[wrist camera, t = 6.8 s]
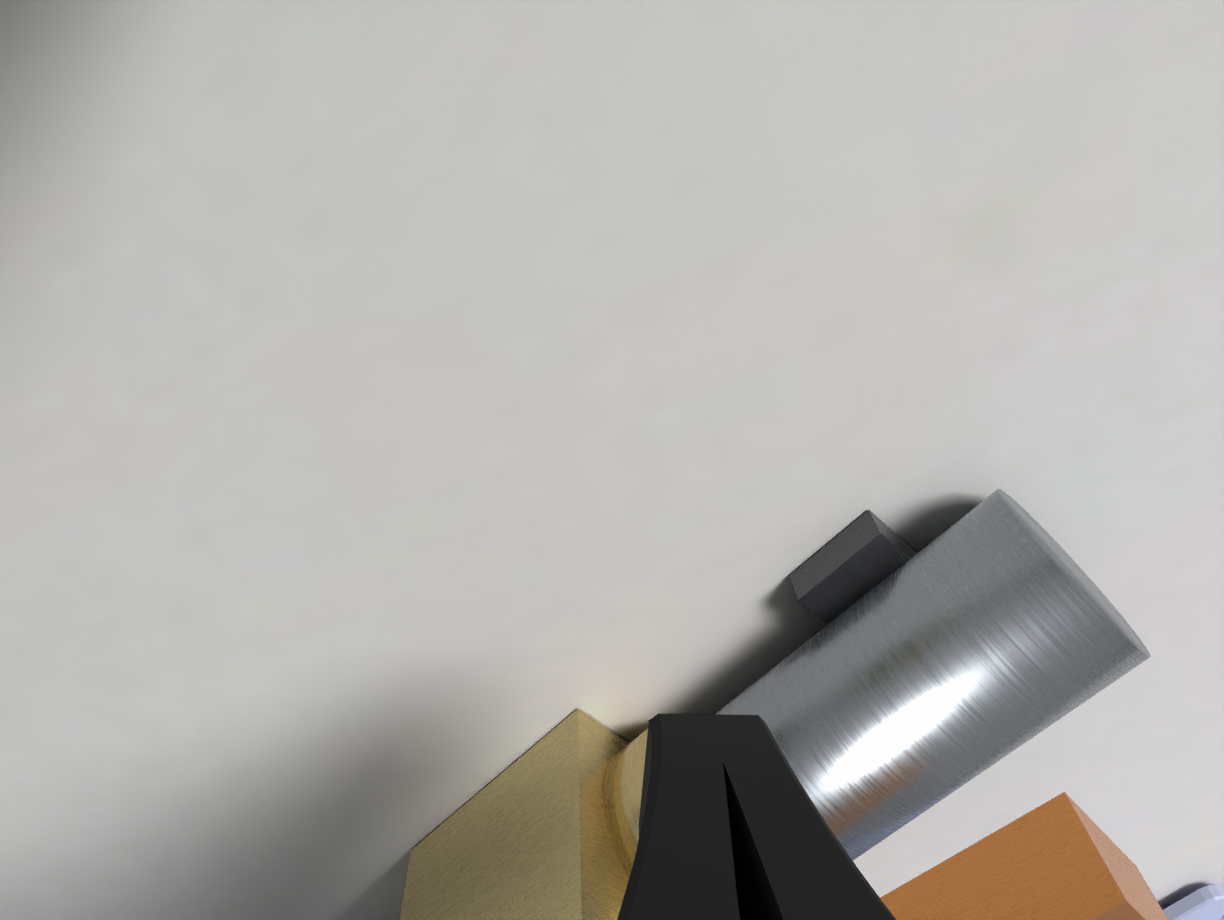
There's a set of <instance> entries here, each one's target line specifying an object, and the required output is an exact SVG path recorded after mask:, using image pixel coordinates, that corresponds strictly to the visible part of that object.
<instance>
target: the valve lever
mask: <svg viewBox="0 0 1224 920" xmlns="http://www.w3.org/2000/svg"><path fill="white" fill-rule="evenodd" d="M880 899H881V900H882V902H883V903H884V904H885V905H886V907H887V908H888V909H889V911H890V912H891V913H892V914H893V916H894V917H895V918H896V920H1168V918H1167V917H1166V915H1165V913H1164V912H1163V910H1162V908H1161V907H1160V905H1159V903H1158V902H1157V900H1156V898H1155V897H1154V895H1153V893H1152V892H1151V890H1150V888H1149V887H1148V885H1147V883H1146V882H1145V880H1144V878H1143V877H1142V875H1141V873H1140V872H1139V870H1138V868H1137V867H1136V865H1135V864H1134V863H1133V862H1132V861H1131V860H1130V859H1129V858H1128V857H1127V856H1126V855H1125V854H1124V853H1123V852H1122V851H1121V850H1120V849H1119V848H1118V847H1117V846H1116V845H1115V844H1114V843H1113V842H1112V841H1111V840H1110V839H1109V837H1108V836H1107V835H1106V834H1105V833H1104V832H1103V831H1102V830H1101V829H1100V828H1099V827H1098V826H1097V825H1096V824H1095V823H1094V822H1093V821H1092V820H1091V819H1090V818H1089V817H1088V816H1087V815H1086V814H1085V813H1084V812H1083V811H1082V810H1081V809H1080V808H1079V806H1078V805H1077V804H1076V803H1075V802H1074V801H1073V800H1072V799H1071V798H1070V797H1069V796H1068V795H1067V794H1066V793H1065V792H1064V793H1062V794H1060V795H1058V796H1057V797H1055V798H1053V799H1051V800H1050V801H1048V802H1046V803H1044V804H1043V805H1041V806H1039V807H1037V808H1036V809H1034V810H1032V811H1030V812H1029V813H1027V814H1025V815H1024V816H1022V817H1020V818H1018V819H1017V820H1015V821H1013V822H1011V823H1010V824H1008V825H1006V826H1004V827H1003V828H1001V829H999V830H997V831H996V832H994V833H992V834H990V835H989V836H987V837H985V838H983V839H982V840H980V841H978V842H977V843H975V844H973V845H971V846H970V847H968V848H966V849H964V850H963V851H961V852H959V853H957V854H956V855H954V856H952V857H950V858H949V859H947V860H945V861H943V862H942V863H940V864H938V865H937V866H935V867H933V868H931V869H930V870H928V871H926V872H924V873H923V874H921V875H919V876H917V877H916V878H914V879H912V880H910V881H909V882H907V883H905V884H903V885H902V886H900V887H898V888H896V889H895V890H893V891H891V892H890V893H888V894H886V895H884V896H883V897H881V898H880Z"/></svg>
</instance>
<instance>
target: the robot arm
mask: <svg viewBox="0 0 1224 920" xmlns="http://www.w3.org/2000/svg"><path fill="white" fill-rule="evenodd" d="M1163 912H1164V913H1165V915H1166V917H1167V918H1168V920H1224V886H1222V885H1208V886H1204V887H1202V888H1200V889H1198V890H1196V891H1194V892H1193V893H1191V894H1189V895H1187V896H1186V897H1184V898H1182V899H1181V900H1179V901H1177V902H1175V903H1174V904H1172V905H1170V906H1169V907H1167V908H1165V909H1164V910H1163ZM617 920H896V918H895V917H894V916H893V914H892V913H891V912H890V911H889V909H888V908H887V907H886V905H885V904H884V903H883V902H882V900H881V899H880V898H879V896H878V895H877V894H876V893H875V891H874V890H873V888H872V887H871V886H870V884H869V883H868V882H867V880H866V879H865V878H864V876H863V875H862V874H861V872H860V871H859V869H858V868H857V867H856V865H855V864H854V862H853V861H852V859H851V858H850V857H849V855H848V854H847V852H846V851H845V849H844V848H843V846H842V845H841V844H840V842H839V841H838V839H837V838H836V836H835V835H834V833H833V832H832V831H831V829H830V828H829V826H828V825H827V823H826V822H825V820H824V819H823V817H822V816H821V814H820V813H819V811H818V810H817V808H816V807H815V805H814V803H813V802H812V800H811V799H810V797H809V796H808V794H807V792H806V791H805V789H804V788H803V786H802V784H801V783H800V781H799V780H798V778H797V776H796V775H795V773H794V771H793V770H792V768H791V766H790V765H789V763H788V761H787V760H786V758H785V756H784V755H783V753H782V751H781V749H780V748H779V746H778V744H777V742H776V741H775V739H774V737H773V735H772V733H771V732H770V730H769V728H768V726H767V724H766V722H765V721H764V720H763V719H762V718H761V717H760V716H759V715H724V714H658V715H656V716H655V717H653V718H652V719H650V720H649V724H648V734H647V744H646V754H645V765H644V775H643V785H642V795H641V805H640V816H639V840H638V845H637V850H636V854H635V859H634V862H633V866H632V870H631V873H630V877H629V880H628V884H627V887H626V891H625V894H624V898H623V901H622V905H621V908H620V912H619V915H618V919H617Z"/></svg>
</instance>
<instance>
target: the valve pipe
mask: <svg viewBox="0 0 1224 920" xmlns="http://www.w3.org/2000/svg"><path fill="white" fill-rule="evenodd" d="M789 576H790V579H791V582H792V585H793V588H794V591H795V594H796V597H797V600H798V601H799V602H800V603H802V604H803V605H804V606H805V607H807V608H808V609H809V610H810V611H812V612H813V613H814V614H815V615H816V616H818V617H819V618H820V619H821V620H823V621H824V622H825V623H826V624H828V625H826V626H825V627H824V628H823V629H821V630H820V631H819V632H817V633H816V634H815V635H814V636H812V637H811V638H810V639H809V640H807V641H806V642H805V643H804V644H802V645H801V646H800V647H799V648H797V649H796V650H795V651H794V652H792V653H791V654H790V655H789V656H787V657H786V658H785V659H783V660H782V661H781V662H780V663H778V664H777V665H776V666H775V667H773V668H772V669H771V670H770V671H768V672H767V673H766V674H765V675H763V676H762V677H761V678H760V679H758V680H757V681H756V682H754V683H753V684H752V685H751V686H749V687H748V688H747V689H746V690H744V691H743V692H742V693H741V694H739V695H738V696H737V697H736V698H734V699H733V700H732V701H731V702H729V703H728V704H727V705H726V706H724V707H723V708H722V709H720V710H719V711H718V712H717V713H715V714H724V715H759V716H760V717H761V718H762V719H763V720H764V721H765V722H766V724H767V726H768V728H769V730H770V732H771V733H772V735H773V737H774V739H775V741H776V742H777V744H778V746H779V748H780V749H781V751H782V753H783V755H784V756H785V758H786V760H787V761H788V763H789V765H790V766H791V768H792V770H793V771H794V773H795V775H796V776H797V778H798V780H799V781H800V783H801V784H802V786H803V788H804V789H805V791H806V792H807V794H808V796H809V797H810V799H811V800H812V802H813V803H814V805H815V807H816V808H817V810H818V811H819V813H820V814H821V816H822V817H823V819H824V820H825V822H826V823H827V825H828V826H829V828H830V829H831V831H832V832H833V833H834V835H835V836H836V838H837V839H838V841H839V842H840V844H841V845H842V846H843V848H844V849H845V851H846V852H847V854H848V855H849V857H850V858H851V859H852V861H853V860H854V859H856V858H857V857H859V856H860V855H862V854H863V853H865V852H866V851H867V850H869V849H870V848H872V847H873V846H875V845H876V844H878V843H879V842H881V841H882V840H884V839H885V838H886V837H888V836H889V835H891V834H892V833H894V832H895V831H897V830H898V829H900V828H901V827H903V826H904V825H905V824H907V823H908V822H910V821H911V820H913V819H914V818H916V817H917V816H919V815H920V814H922V813H923V812H924V811H926V810H927V809H929V808H930V807H932V806H933V805H935V804H936V803H938V802H939V801H940V800H942V799H943V798H945V797H946V796H948V795H949V794H951V793H952V792H954V791H955V790H957V789H958V788H959V787H961V786H962V785H964V784H965V783H967V782H968V781H970V780H971V779H973V778H974V777H976V776H977V775H978V774H980V773H981V772H983V771H984V770H986V769H987V768H989V767H990V766H992V765H993V764H995V763H996V762H997V761H999V760H1000V759H1002V758H1003V757H1005V756H1006V755H1008V754H1009V753H1011V752H1012V751H1014V750H1015V749H1016V748H1018V747H1019V746H1021V745H1022V744H1024V743H1025V742H1027V741H1028V740H1030V739H1031V738H1033V737H1034V736H1035V735H1037V734H1038V733H1040V732H1041V731H1043V730H1044V729H1046V728H1047V727H1049V726H1050V725H1052V724H1053V723H1054V722H1056V721H1057V720H1059V719H1060V718H1062V717H1063V716H1065V715H1066V714H1068V713H1069V712H1071V711H1072V710H1073V709H1075V708H1076V707H1078V706H1079V705H1081V704H1082V703H1084V702H1085V701H1087V700H1088V699H1090V698H1091V697H1092V696H1094V695H1095V694H1097V693H1098V692H1100V691H1101V690H1103V689H1104V688H1106V687H1107V686H1109V685H1110V684H1111V683H1113V682H1114V681H1116V680H1117V679H1119V678H1120V677H1122V676H1123V675H1125V674H1126V673H1128V672H1129V671H1130V670H1132V669H1133V668H1135V667H1136V666H1138V665H1139V664H1141V663H1142V662H1144V661H1145V660H1147V659H1148V658H1149V657H1150V654H1149V652H1148V650H1147V648H1146V647H1145V645H1144V644H1143V643H1142V641H1141V640H1140V638H1139V637H1138V636H1137V634H1136V633H1135V632H1134V631H1133V629H1132V628H1131V627H1130V625H1129V624H1128V623H1127V622H1126V620H1125V619H1124V618H1123V617H1122V616H1121V614H1120V613H1119V612H1118V611H1117V610H1116V608H1115V607H1114V606H1113V605H1112V604H1111V602H1110V601H1109V600H1108V599H1107V598H1106V597H1105V595H1104V594H1103V593H1102V592H1101V591H1100V590H1099V588H1098V587H1097V586H1096V585H1095V584H1094V583H1093V582H1092V580H1091V579H1090V578H1089V577H1088V576H1087V575H1086V574H1085V573H1084V572H1083V570H1082V569H1081V568H1080V567H1079V566H1078V565H1077V564H1076V563H1075V562H1074V560H1073V559H1072V558H1071V557H1070V556H1069V555H1068V554H1067V553H1066V552H1065V551H1064V550H1063V549H1062V548H1061V546H1060V545H1059V544H1058V543H1057V542H1056V541H1055V540H1054V539H1053V538H1052V537H1051V536H1050V535H1049V534H1048V533H1047V532H1046V531H1045V530H1044V529H1043V528H1042V527H1041V526H1040V525H1039V524H1038V523H1037V522H1036V521H1035V520H1034V519H1033V518H1032V517H1031V516H1030V515H1029V514H1028V513H1027V512H1026V511H1025V510H1024V509H1023V508H1022V507H1021V506H1020V505H1019V504H1018V503H1017V502H1016V501H1015V500H1013V499H1012V498H1011V497H1010V496H1009V495H1008V494H1006V493H1005V492H1004V491H1002V490H1000V489H998V490H996V491H995V492H994V493H993V494H991V495H990V496H989V497H988V498H986V499H985V500H984V501H982V502H981V503H980V504H979V505H977V506H976V507H975V508H974V509H972V510H971V511H970V512H969V513H967V514H966V515H965V516H964V517H962V518H961V519H960V520H959V521H957V522H956V523H955V524H954V525H952V526H951V527H950V528H948V529H947V530H946V531H945V532H943V533H942V534H941V535H940V536H938V537H937V538H936V539H935V540H933V541H932V542H931V543H930V544H928V545H927V546H926V547H925V548H923V549H922V550H921V551H920V552H918V553H917V552H916V551H914V550H913V549H912V548H911V547H910V546H909V545H908V544H907V543H905V542H904V541H903V540H902V539H901V538H900V537H899V536H898V535H897V534H895V533H894V532H893V531H892V530H891V529H890V528H889V527H888V526H886V525H885V524H884V523H883V522H882V521H881V520H880V519H879V518H877V517H876V516H875V515H874V514H873V513H872V512H871V511H870V510H868V511H866V512H865V513H864V514H863V515H862V516H860V517H859V518H858V519H857V520H856V521H854V522H853V523H852V524H851V525H850V526H848V527H847V528H846V529H845V530H843V531H842V532H841V533H840V534H839V535H837V536H836V537H835V538H834V539H833V540H831V541H830V542H829V543H828V544H827V545H825V546H824V547H823V548H822V549H821V550H819V551H818V552H817V553H816V554H815V555H813V556H812V557H811V558H810V559H808V560H807V561H806V562H805V563H804V564H802V565H801V566H800V567H799V568H798V569H796V570H795V571H794V572H793V573H792V574H790V575H789ZM647 734H648V729H646V730H645V731H644V732H643V733H641V734H640V735H639V736H638V737H637V738H635V739H634V740H633V741H632V742H630V743H628V742H627V741H625V740H624V739H622V738H621V737H619V736H618V735H616V734H615V733H613V732H612V731H610V730H609V729H607V728H606V727H605V726H603V725H602V724H600V723H599V722H597V721H596V720H594V719H593V718H591V717H590V716H588V715H587V714H585V713H584V712H582V711H581V710H579V709H577V710H575V711H574V712H573V713H572V714H571V715H570V716H568V717H567V718H566V719H565V720H564V721H563V722H561V723H560V724H559V725H558V726H557V727H555V728H554V729H553V730H552V731H551V732H550V733H548V734H547V735H546V736H545V737H544V738H542V739H541V740H540V741H539V742H538V743H537V744H535V745H534V746H533V747H532V748H531V749H530V750H528V751H527V752H526V753H525V754H524V755H522V756H521V757H520V758H519V759H518V760H517V761H515V762H514V763H513V764H512V765H511V766H510V767H508V768H507V769H506V770H505V771H504V772H502V773H501V774H500V775H499V776H498V777H497V778H495V779H494V780H493V781H492V782H491V783H490V784H488V785H487V786H486V787H485V788H484V789H482V790H481V791H480V792H479V793H478V794H477V795H475V796H474V797H473V798H472V799H471V800H469V801H468V802H467V803H466V804H465V805H464V806H462V807H461V808H460V809H459V810H458V811H457V812H455V813H454V814H453V815H452V816H451V817H449V818H448V819H447V820H446V821H445V822H444V823H442V824H441V825H440V826H439V827H438V828H437V829H435V830H434V831H433V832H432V833H431V834H429V835H428V836H427V837H426V838H425V839H424V840H422V841H421V842H420V843H419V844H418V845H416V846H415V847H414V848H413V849H412V850H411V852H410V859H409V865H408V871H407V877H406V883H405V889H404V895H403V902H402V908H401V914H400V920H617V919H618V915H619V912H620V908H621V905H622V901H623V898H624V894H625V891H626V887H627V884H628V880H629V877H630V873H631V870H632V866H633V862H634V859H635V854H636V850H637V845H638V840H639V816H640V805H641V795H642V785H643V775H644V765H645V754H646V744H647Z"/></svg>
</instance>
